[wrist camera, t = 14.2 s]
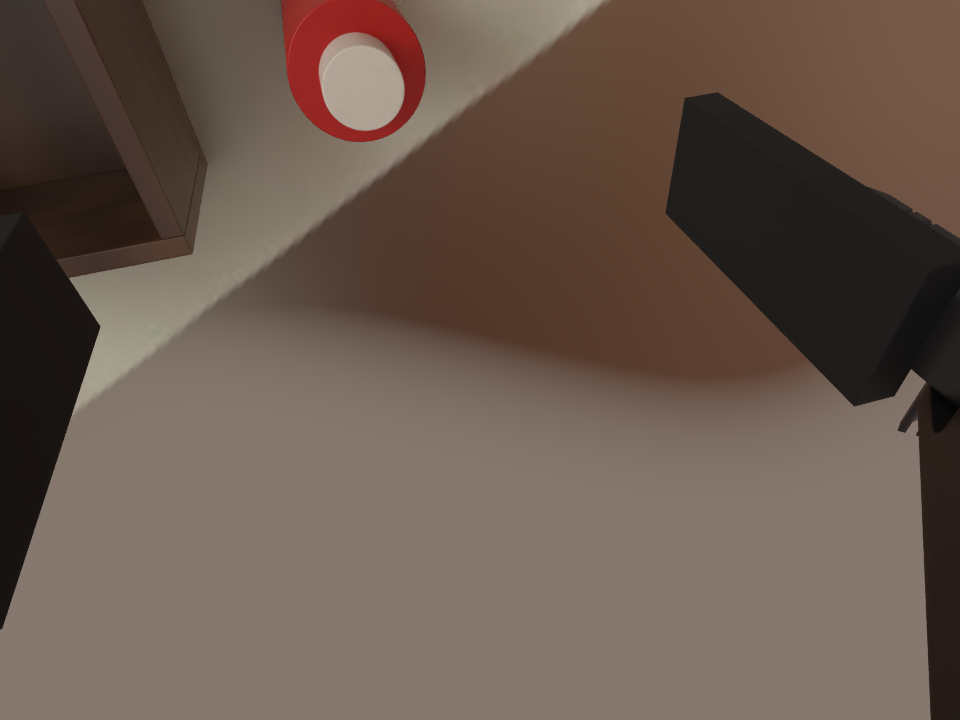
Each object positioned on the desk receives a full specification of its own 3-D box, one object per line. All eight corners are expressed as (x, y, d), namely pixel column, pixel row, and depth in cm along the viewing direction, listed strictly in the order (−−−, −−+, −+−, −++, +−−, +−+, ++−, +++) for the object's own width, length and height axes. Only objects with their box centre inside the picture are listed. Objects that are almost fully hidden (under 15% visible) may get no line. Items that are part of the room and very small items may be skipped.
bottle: (371, -63, 27) (425, -3, 18) (388, 48, 30) (442, 148, 21) (266, -50, 26) (268, 19, 17) (296, 62, 29) (310, 171, 20)
